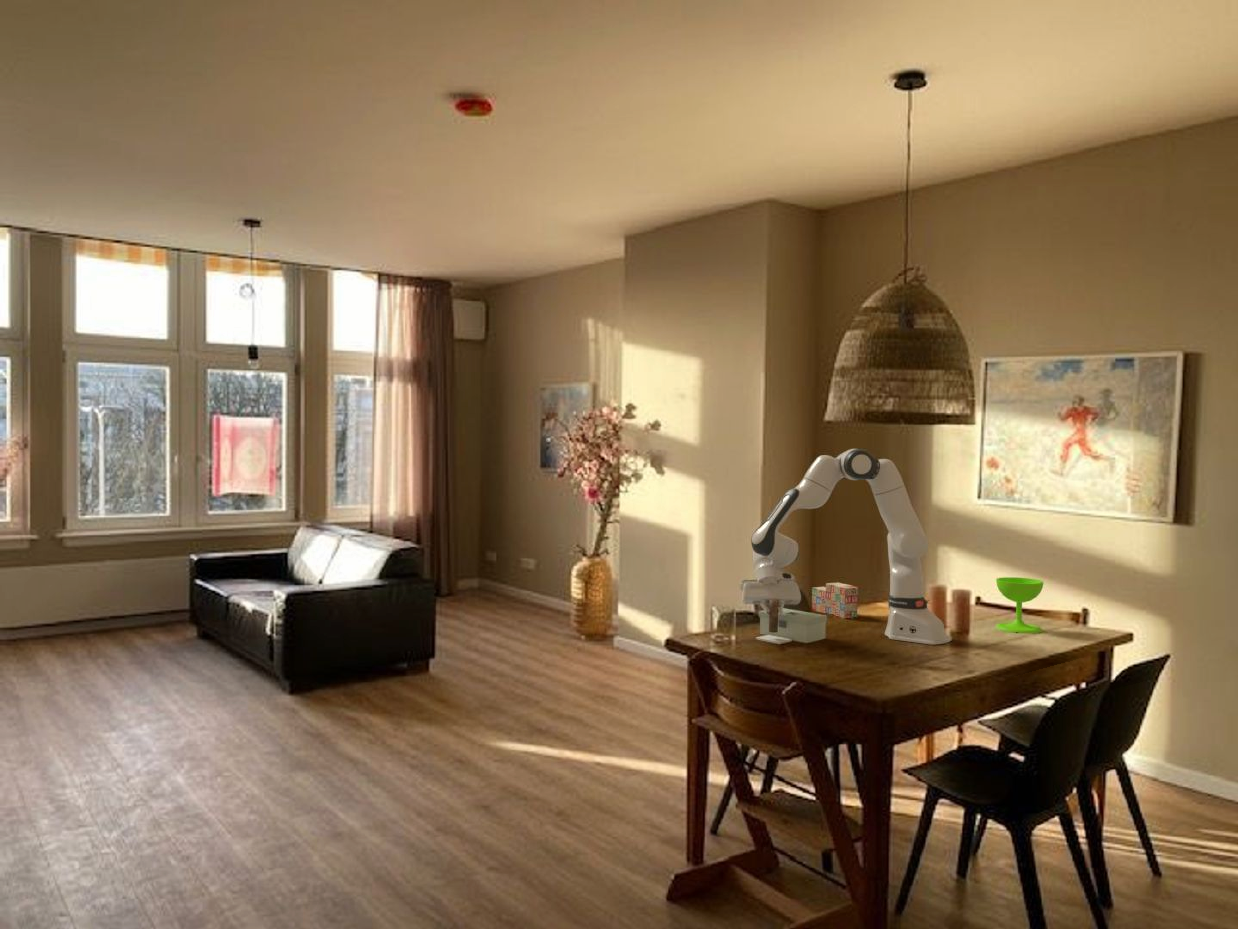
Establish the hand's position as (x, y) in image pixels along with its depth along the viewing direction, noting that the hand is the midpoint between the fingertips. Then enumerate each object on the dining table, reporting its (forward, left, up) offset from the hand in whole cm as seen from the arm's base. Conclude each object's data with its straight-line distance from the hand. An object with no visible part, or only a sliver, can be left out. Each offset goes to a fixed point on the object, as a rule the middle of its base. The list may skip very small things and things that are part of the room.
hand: (774, 613), depth 312 cm
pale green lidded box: (0, -11, -10) cm, 15 cm away
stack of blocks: (+15, -59, -10) cm, 61 cm away
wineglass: (-47, -85, -10) cm, 97 cm away
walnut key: (+1, 0, -7) cm, 7 cm away
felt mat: (0, -1, -10) cm, 10 cm away
